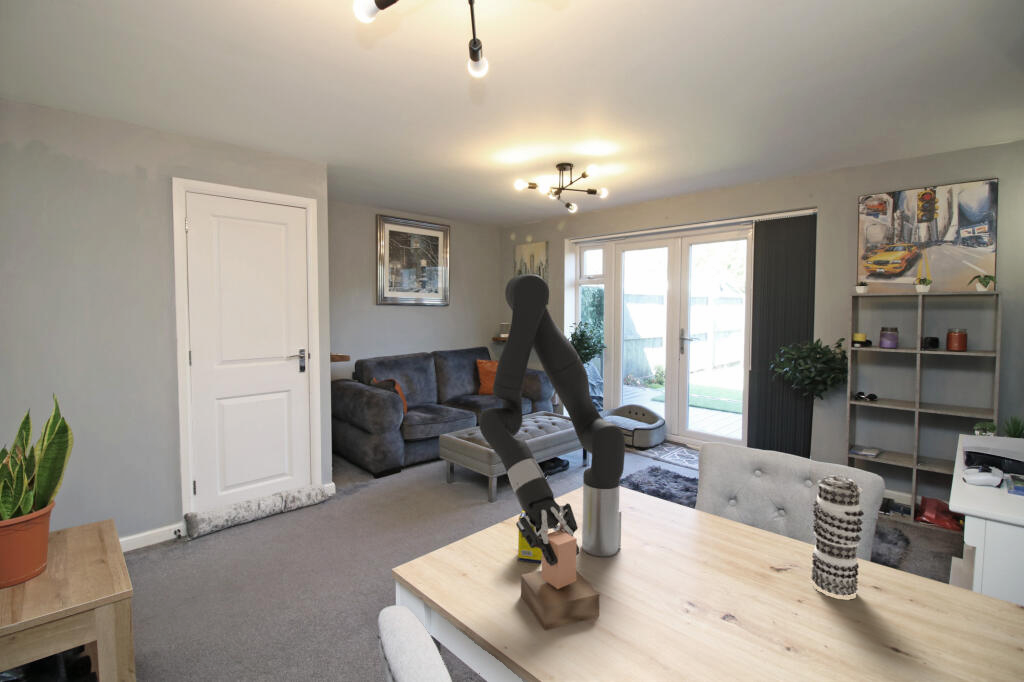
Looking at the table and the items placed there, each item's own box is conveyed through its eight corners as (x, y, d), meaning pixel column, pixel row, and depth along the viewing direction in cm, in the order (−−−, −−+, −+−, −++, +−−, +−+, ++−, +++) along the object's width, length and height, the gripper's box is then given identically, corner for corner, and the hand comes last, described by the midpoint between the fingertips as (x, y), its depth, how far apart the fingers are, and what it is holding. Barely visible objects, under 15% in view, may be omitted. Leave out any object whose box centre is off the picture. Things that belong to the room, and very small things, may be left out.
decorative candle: (853, 583, 109) (859, 475, 107) (863, 606, 100) (870, 489, 99) (806, 574, 113) (811, 469, 111) (812, 595, 104) (818, 482, 103)
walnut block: (570, 586, 107) (570, 564, 107) (598, 618, 96) (599, 593, 96) (521, 597, 103) (521, 574, 103) (544, 631, 92) (545, 606, 92)
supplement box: (541, 563, 116) (542, 519, 115) (517, 561, 117) (518, 517, 117) (545, 551, 122) (545, 509, 121) (522, 549, 123) (522, 507, 122)
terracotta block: (559, 570, 103) (560, 529, 102) (576, 581, 99) (576, 538, 98) (541, 578, 100) (542, 535, 99) (557, 589, 96) (558, 545, 95)
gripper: (510, 482, 100) (547, 563, 91) (562, 470, 108) (600, 542, 99) (496, 499, 104) (529, 577, 96) (546, 486, 113) (581, 556, 104)
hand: (565, 559), depth 98 cm, fingers open, 5 cm apart
